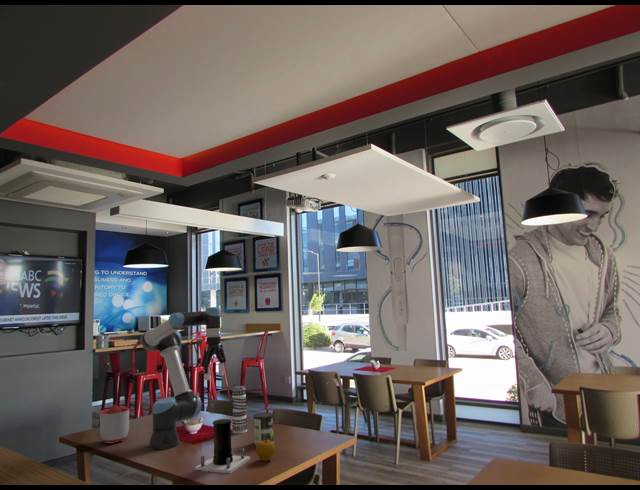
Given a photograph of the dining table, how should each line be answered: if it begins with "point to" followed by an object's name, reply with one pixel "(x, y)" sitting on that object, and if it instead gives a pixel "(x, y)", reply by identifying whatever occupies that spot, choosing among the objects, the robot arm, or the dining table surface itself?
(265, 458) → the apple
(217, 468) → the locating plate
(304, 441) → the dining table surface
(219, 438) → the container
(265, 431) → the coffee can
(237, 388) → the decorative candle
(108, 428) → the citrus juicer
